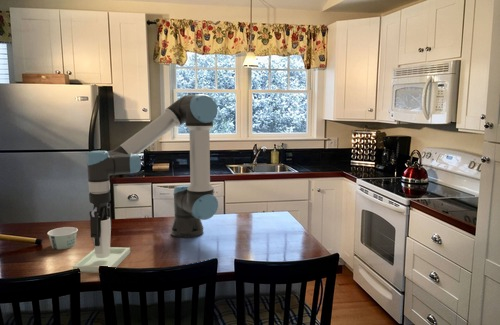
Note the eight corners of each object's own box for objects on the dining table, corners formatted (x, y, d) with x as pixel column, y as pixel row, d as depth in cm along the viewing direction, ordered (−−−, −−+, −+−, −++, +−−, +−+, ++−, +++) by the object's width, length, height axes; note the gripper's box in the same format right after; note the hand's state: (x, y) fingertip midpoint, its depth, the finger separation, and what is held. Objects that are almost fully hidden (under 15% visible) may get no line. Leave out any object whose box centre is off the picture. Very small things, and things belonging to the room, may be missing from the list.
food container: (67, 251, 166) (66, 236, 165) (42, 249, 168) (40, 234, 167) (84, 241, 178) (83, 227, 177) (60, 240, 180) (59, 226, 179)
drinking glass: (106, 260, 150) (104, 221, 148) (89, 258, 152) (87, 220, 150) (115, 253, 157) (113, 216, 155) (100, 252, 158) (98, 215, 156)
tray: (130, 252, 164) (130, 247, 164) (110, 273, 144) (110, 267, 144) (97, 252, 165) (96, 247, 165) (73, 272, 145) (72, 266, 145)
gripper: (100, 186, 160) (103, 241, 164) (77, 197, 141) (81, 259, 145) (119, 186, 160) (121, 241, 163) (98, 197, 141) (101, 259, 144)
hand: (102, 250), depth 154 cm, fingers closed on drinking glass, 6 cm apart
